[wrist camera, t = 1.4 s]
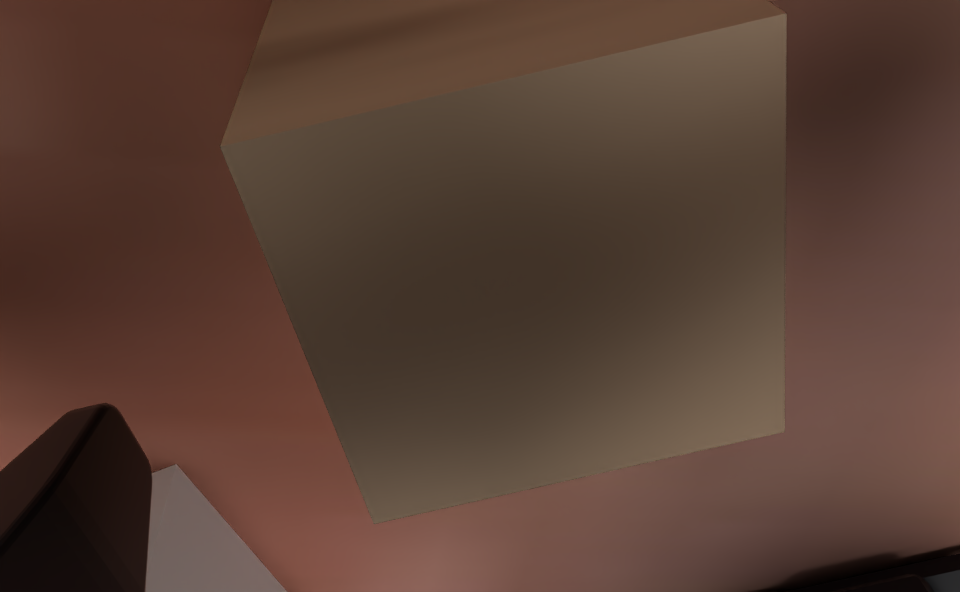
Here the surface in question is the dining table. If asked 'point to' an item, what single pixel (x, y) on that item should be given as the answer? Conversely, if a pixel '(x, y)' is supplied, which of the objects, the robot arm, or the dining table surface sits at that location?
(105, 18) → the dining table surface
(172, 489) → the grey block
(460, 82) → the walnut block
